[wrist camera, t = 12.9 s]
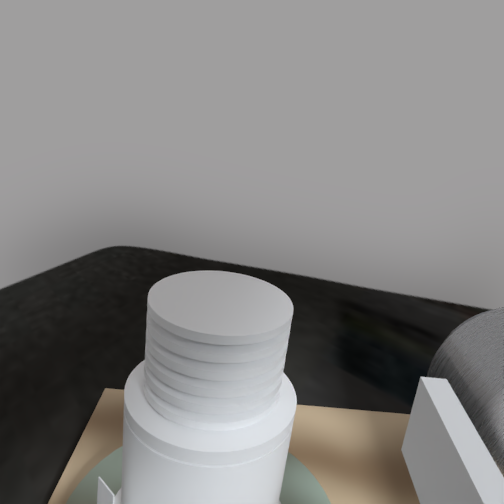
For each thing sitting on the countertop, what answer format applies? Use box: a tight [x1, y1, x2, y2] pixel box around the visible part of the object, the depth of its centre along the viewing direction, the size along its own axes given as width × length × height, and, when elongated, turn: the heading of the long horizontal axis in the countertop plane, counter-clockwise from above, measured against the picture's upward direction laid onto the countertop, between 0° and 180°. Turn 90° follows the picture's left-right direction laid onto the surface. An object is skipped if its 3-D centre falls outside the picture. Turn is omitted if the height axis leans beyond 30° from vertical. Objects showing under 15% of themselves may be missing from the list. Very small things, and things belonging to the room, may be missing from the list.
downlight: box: [97, 271, 297, 504], centre depth 16 cm, size 8×7×10 cm
